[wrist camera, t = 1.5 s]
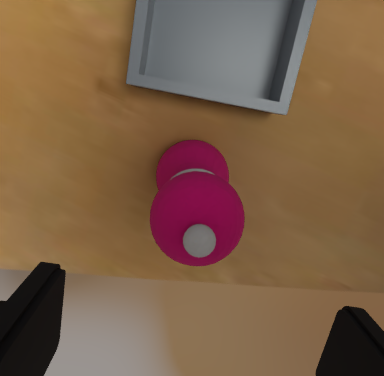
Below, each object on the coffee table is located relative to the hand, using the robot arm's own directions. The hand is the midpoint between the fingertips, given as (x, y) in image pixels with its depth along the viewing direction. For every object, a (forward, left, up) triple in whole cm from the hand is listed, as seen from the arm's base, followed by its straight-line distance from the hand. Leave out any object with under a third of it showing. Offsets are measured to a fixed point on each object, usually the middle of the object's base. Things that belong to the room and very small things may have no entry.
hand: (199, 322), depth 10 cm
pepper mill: (0, 0, -26) cm, 26 cm away
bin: (0, -15, -26) cm, 30 cm away
